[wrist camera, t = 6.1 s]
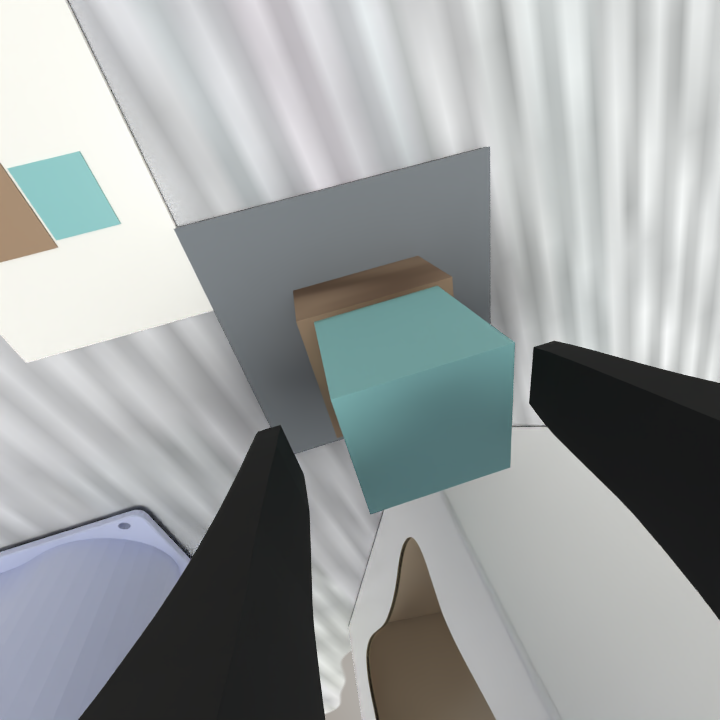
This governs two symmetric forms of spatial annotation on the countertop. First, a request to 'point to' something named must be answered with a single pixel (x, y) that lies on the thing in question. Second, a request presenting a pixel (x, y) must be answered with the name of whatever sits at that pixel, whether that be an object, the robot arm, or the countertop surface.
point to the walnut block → (358, 303)
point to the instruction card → (76, 199)
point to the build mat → (335, 267)
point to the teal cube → (419, 394)
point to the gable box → (529, 605)
